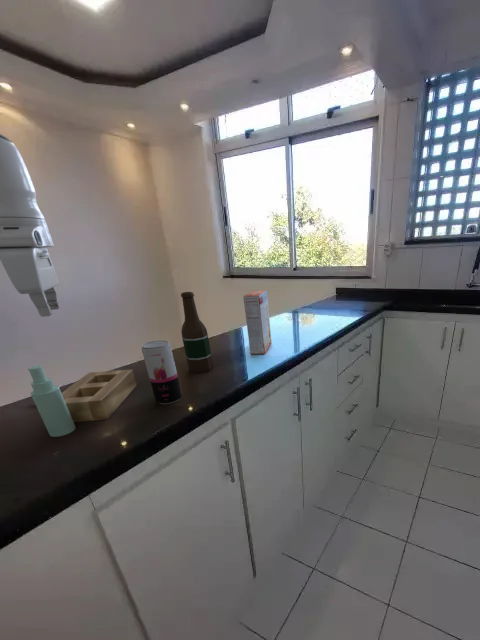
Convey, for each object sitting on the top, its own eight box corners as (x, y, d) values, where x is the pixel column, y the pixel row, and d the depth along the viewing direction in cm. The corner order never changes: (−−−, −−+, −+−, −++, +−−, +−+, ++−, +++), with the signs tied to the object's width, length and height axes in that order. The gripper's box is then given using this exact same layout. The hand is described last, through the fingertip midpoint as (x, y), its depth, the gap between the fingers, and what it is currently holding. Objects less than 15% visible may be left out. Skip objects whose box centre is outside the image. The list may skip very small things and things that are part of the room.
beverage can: (171, 406, 78) (157, 348, 71) (150, 403, 79) (134, 347, 73) (187, 395, 83) (175, 340, 77) (167, 393, 85) (153, 339, 78)
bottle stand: (53, 424, 71) (45, 405, 69) (94, 388, 90) (88, 372, 88) (107, 419, 73) (100, 400, 70) (136, 385, 91) (132, 369, 89)
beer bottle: (218, 367, 102) (206, 291, 92) (200, 375, 97) (184, 294, 86) (202, 363, 106) (188, 290, 96) (183, 371, 100) (167, 293, 90)
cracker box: (257, 343, 126) (252, 289, 117) (272, 343, 126) (267, 289, 116) (249, 354, 114) (242, 295, 104) (265, 354, 113) (259, 294, 104)
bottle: (44, 438, 66) (13, 372, 60) (57, 426, 70) (29, 364, 64) (68, 435, 67) (40, 370, 60) (79, 424, 71) (54, 362, 64)
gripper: (17, 239, 65) (43, 307, 71) (-19, 234, 49) (19, 322, 55) (53, 239, 68) (75, 304, 74) (30, 234, 51) (61, 318, 58)
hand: (51, 312), depth 64 cm, fingers open, 8 cm apart
